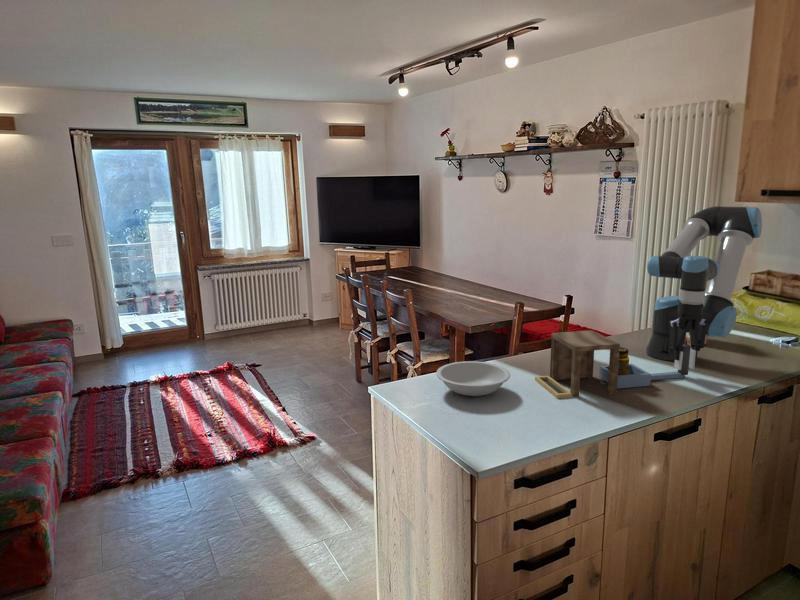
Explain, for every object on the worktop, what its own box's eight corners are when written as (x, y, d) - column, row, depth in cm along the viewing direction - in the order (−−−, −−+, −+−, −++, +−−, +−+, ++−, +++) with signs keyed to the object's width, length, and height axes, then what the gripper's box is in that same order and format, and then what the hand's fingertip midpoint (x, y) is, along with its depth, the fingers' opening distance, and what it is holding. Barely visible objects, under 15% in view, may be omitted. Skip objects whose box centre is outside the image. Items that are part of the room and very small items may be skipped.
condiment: (633, 383, 182) (635, 349, 180) (618, 389, 177) (620, 354, 175) (613, 377, 188) (615, 344, 185) (598, 382, 183) (600, 349, 181)
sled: (676, 370, 192) (678, 341, 190) (697, 381, 181) (700, 350, 179) (599, 377, 187) (601, 346, 185) (616, 388, 176) (618, 356, 174)
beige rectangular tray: (548, 378, 187) (548, 375, 187) (571, 397, 171) (571, 393, 171) (534, 380, 186) (534, 376, 186) (556, 398, 170) (557, 394, 170)
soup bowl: (455, 374, 193) (455, 357, 192) (520, 386, 181) (520, 367, 180) (423, 397, 173) (423, 378, 172) (494, 411, 161) (494, 391, 160)
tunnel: (589, 375, 190) (592, 330, 186) (616, 393, 173) (619, 343, 170) (549, 378, 187) (551, 333, 184) (573, 397, 171) (575, 347, 168)
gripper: (706, 298, 186) (698, 363, 191) (660, 300, 183) (654, 366, 188) (722, 303, 179) (714, 370, 184) (675, 305, 176) (668, 373, 181)
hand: (684, 368), depth 186 cm, fingers open, 4 cm apart
